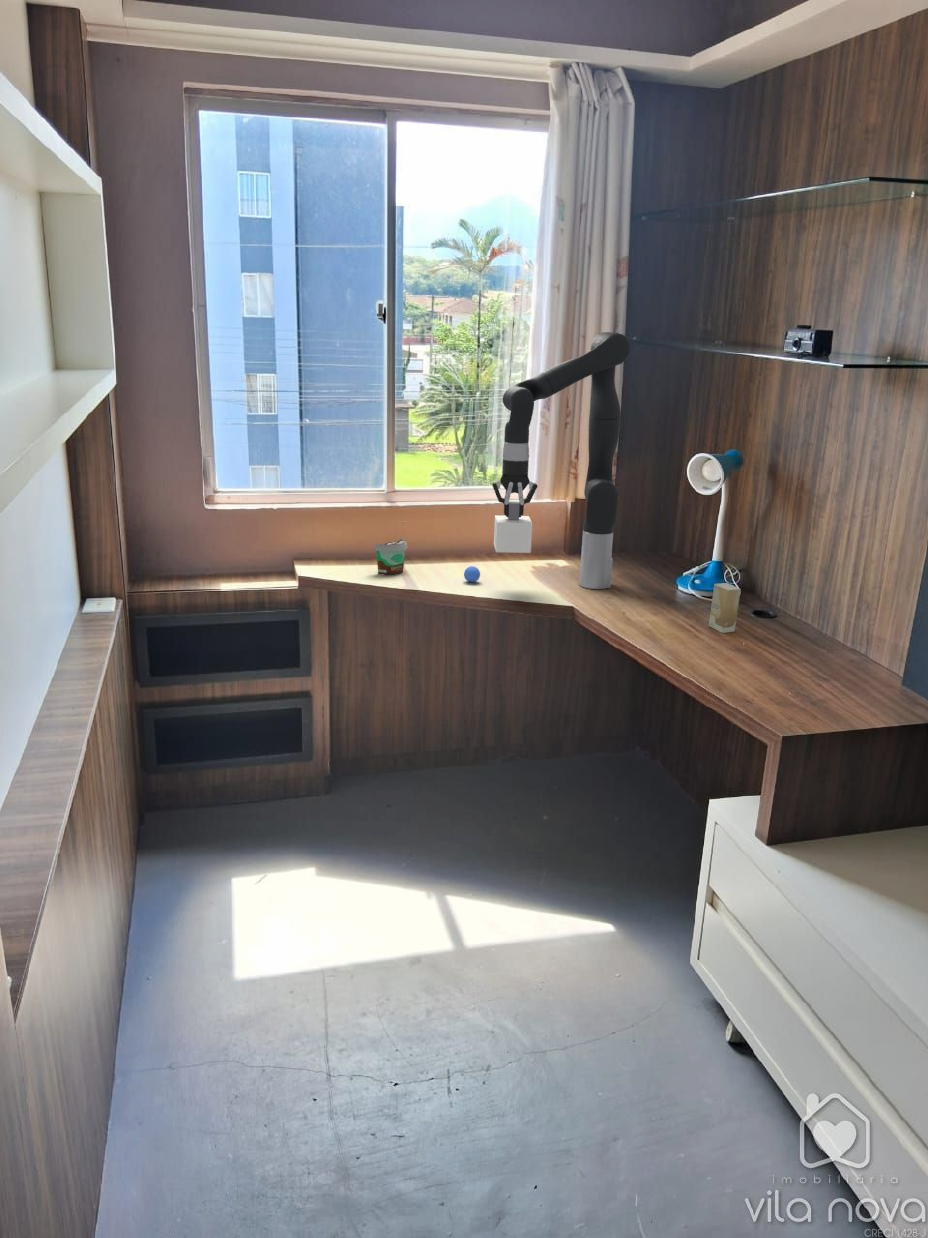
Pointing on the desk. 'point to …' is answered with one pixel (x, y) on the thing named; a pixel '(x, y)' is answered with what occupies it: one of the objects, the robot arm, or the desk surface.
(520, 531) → the white block with peg
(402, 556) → the food container
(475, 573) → the ball
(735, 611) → the skincare box
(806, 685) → the desk surface
